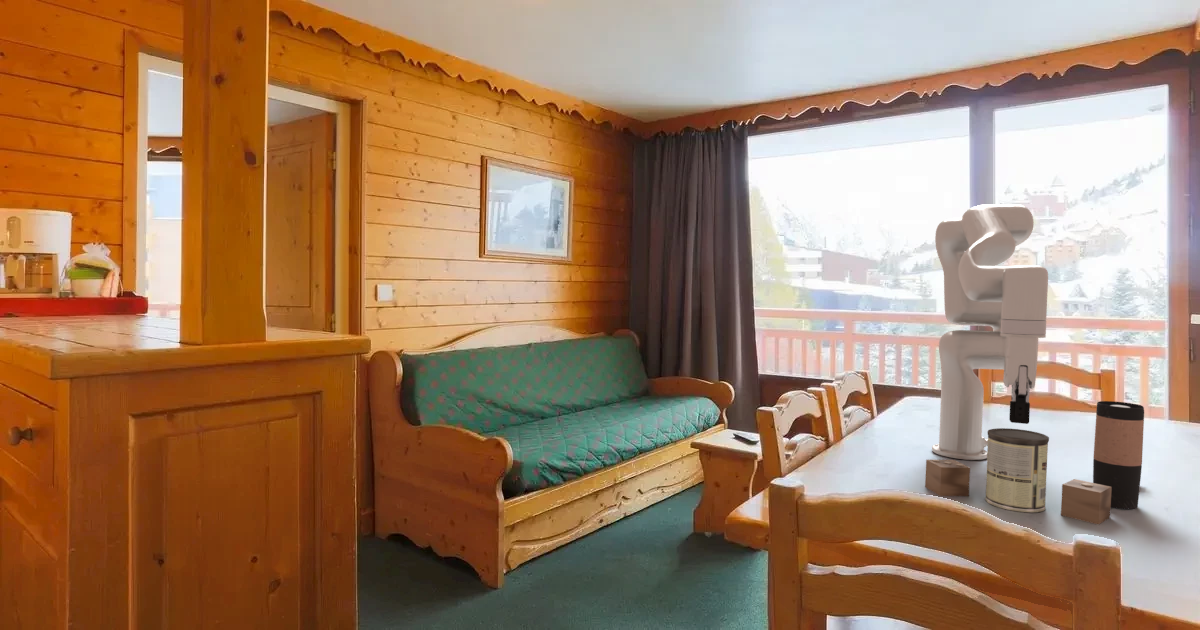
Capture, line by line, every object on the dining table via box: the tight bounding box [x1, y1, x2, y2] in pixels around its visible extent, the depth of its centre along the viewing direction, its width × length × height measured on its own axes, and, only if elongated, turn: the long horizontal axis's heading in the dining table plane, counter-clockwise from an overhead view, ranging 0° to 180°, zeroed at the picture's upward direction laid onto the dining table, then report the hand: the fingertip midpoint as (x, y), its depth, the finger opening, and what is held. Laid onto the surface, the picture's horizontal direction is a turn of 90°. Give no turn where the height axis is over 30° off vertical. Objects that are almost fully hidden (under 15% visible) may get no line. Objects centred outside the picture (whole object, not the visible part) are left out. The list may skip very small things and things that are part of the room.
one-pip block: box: [1060, 478, 1112, 526], centre depth 127 cm, size 6×6×6 cm
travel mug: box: [1092, 400, 1145, 511], centre depth 134 cm, size 8×8×20 cm
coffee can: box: [984, 427, 1050, 513], centre depth 133 cm, size 10×10×14 cm
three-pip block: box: [924, 459, 971, 497], centre depth 141 cm, size 6×6×6 cm
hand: (1019, 422), depth 132 cm, fingers closed
